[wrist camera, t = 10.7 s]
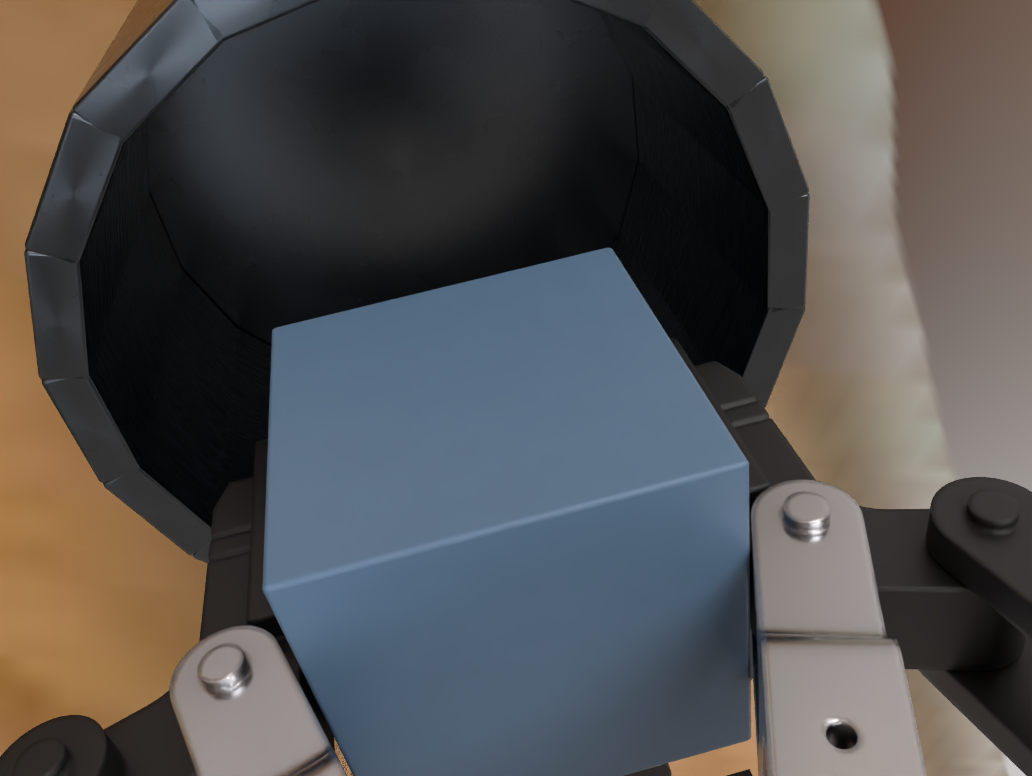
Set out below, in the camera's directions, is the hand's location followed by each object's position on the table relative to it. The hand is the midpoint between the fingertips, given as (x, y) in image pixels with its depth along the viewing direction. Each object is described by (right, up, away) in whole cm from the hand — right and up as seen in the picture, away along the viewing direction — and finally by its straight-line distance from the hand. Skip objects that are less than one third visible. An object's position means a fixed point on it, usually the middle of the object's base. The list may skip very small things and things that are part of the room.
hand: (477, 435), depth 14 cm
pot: (-2, +6, +9) cm, 11 cm away
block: (0, 0, 0) cm, 0 cm away
